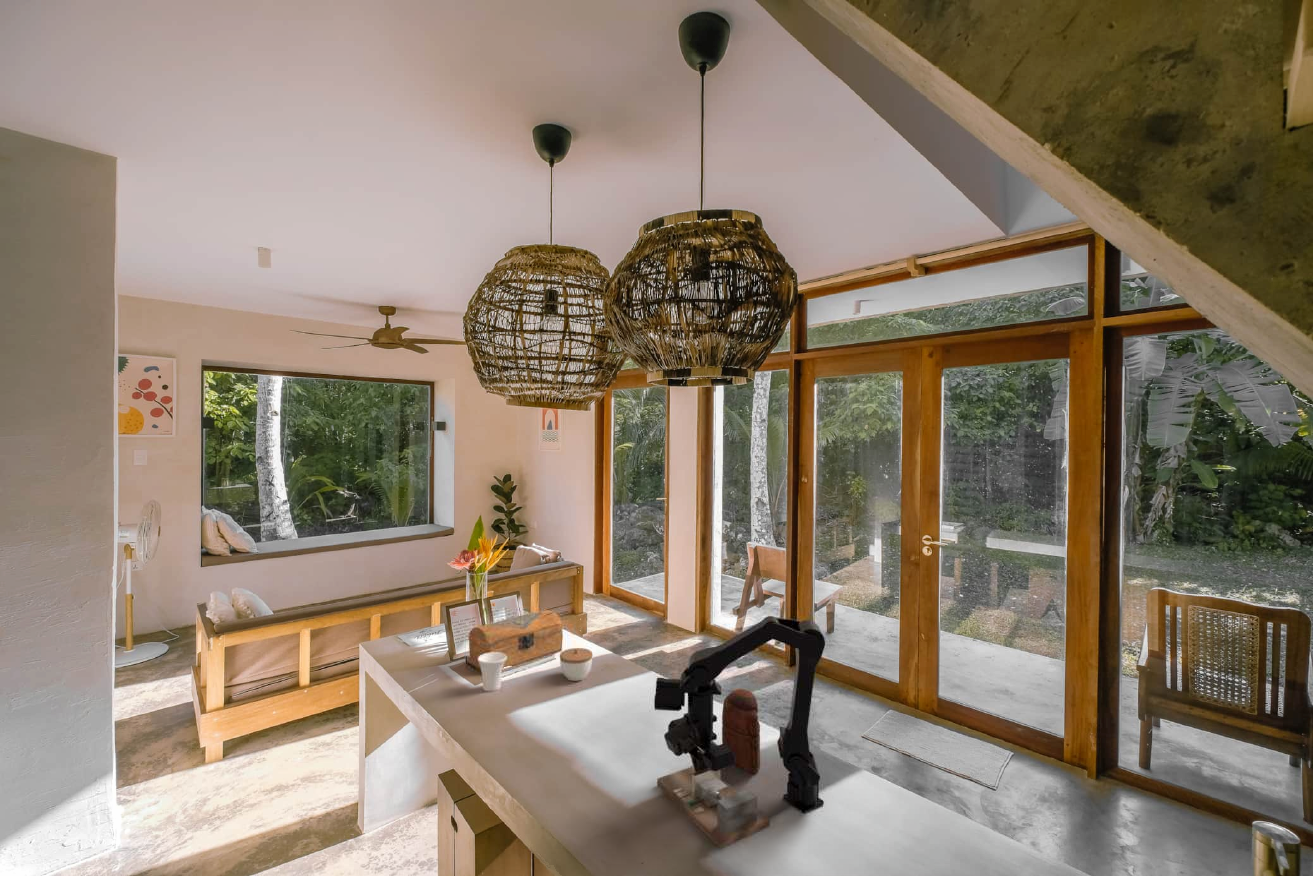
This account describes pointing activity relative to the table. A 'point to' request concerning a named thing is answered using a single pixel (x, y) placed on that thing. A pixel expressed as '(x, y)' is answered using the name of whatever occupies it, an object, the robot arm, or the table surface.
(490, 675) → the cup
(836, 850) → the table surface
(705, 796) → the gauge carriage
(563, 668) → the lidded jar
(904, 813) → the table surface
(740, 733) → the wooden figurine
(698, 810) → the gauge base
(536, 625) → the wooden box
